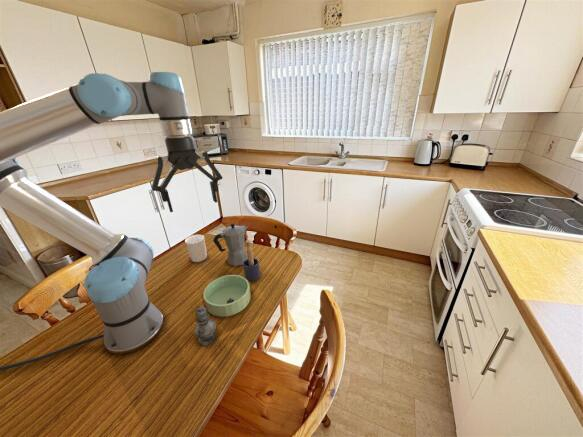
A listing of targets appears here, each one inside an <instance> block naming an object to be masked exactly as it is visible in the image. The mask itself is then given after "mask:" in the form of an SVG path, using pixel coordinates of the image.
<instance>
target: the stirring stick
mask: <svg viewBox="0 0 583 437" xmlns="http://www.w3.org/2000/svg"><path fill="white" fill-rule="evenodd" d="M245 248H246V253H247V257H248V262H249V266H254V259H253V258H254V253H253V244H252V240H251V239H247V240H245Z"/></svg>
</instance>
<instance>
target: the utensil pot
mask: <svg viewBox="0 0 583 437" xmlns="http://www.w3.org/2000/svg"><path fill="white" fill-rule="evenodd" d="M253 259H254V266H249V262H248V259H246V260H245V261H244V262H243V265H242V266H243V267H242V268H243V274H244V278H245V279H247V281H248V282H254V281H257V280H259V279H260V277H261V268H260V261H259V259H258V258H255V257H253Z"/></svg>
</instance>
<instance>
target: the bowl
mask: <svg viewBox="0 0 583 437" xmlns="http://www.w3.org/2000/svg"><path fill="white" fill-rule="evenodd" d="M251 294H252V293H251V287H250V281H248V280H247V279H245V276H242V275H240V274H227V275H226V274H225V275H222V276H220V277H217V278H215V279H214V280H212V281H211V282H209V283H208V284H207V285H206V286H205V288H204V290H203V294H202V296H203V300H204V305H205V308H206V311H207V312H209V314H211V315H213V316H214V317H215V316H216V317H222V318H223V317H230V316H235V315H236V314H238V313H240V312H242V311H243V310H244V309H245V308H246V307H248V305H249V303H250V301H251V297H252V295H251ZM229 298H232V299H233V300H234V302H232V303H229V304H227V300H228V299H229Z"/></svg>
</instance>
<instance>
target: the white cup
mask: <svg viewBox="0 0 583 437" xmlns="http://www.w3.org/2000/svg"><path fill="white" fill-rule="evenodd" d="M184 242H185V245H186V249H187V252H188V256H189V257H190V260H191V262H194V263H201V262H203V261H205V260H206V259H207V258H208V252H207V244H206V240H205V236H204V235H203V234H193V235H189V236H187V237H186V239H185V240H184Z"/></svg>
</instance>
